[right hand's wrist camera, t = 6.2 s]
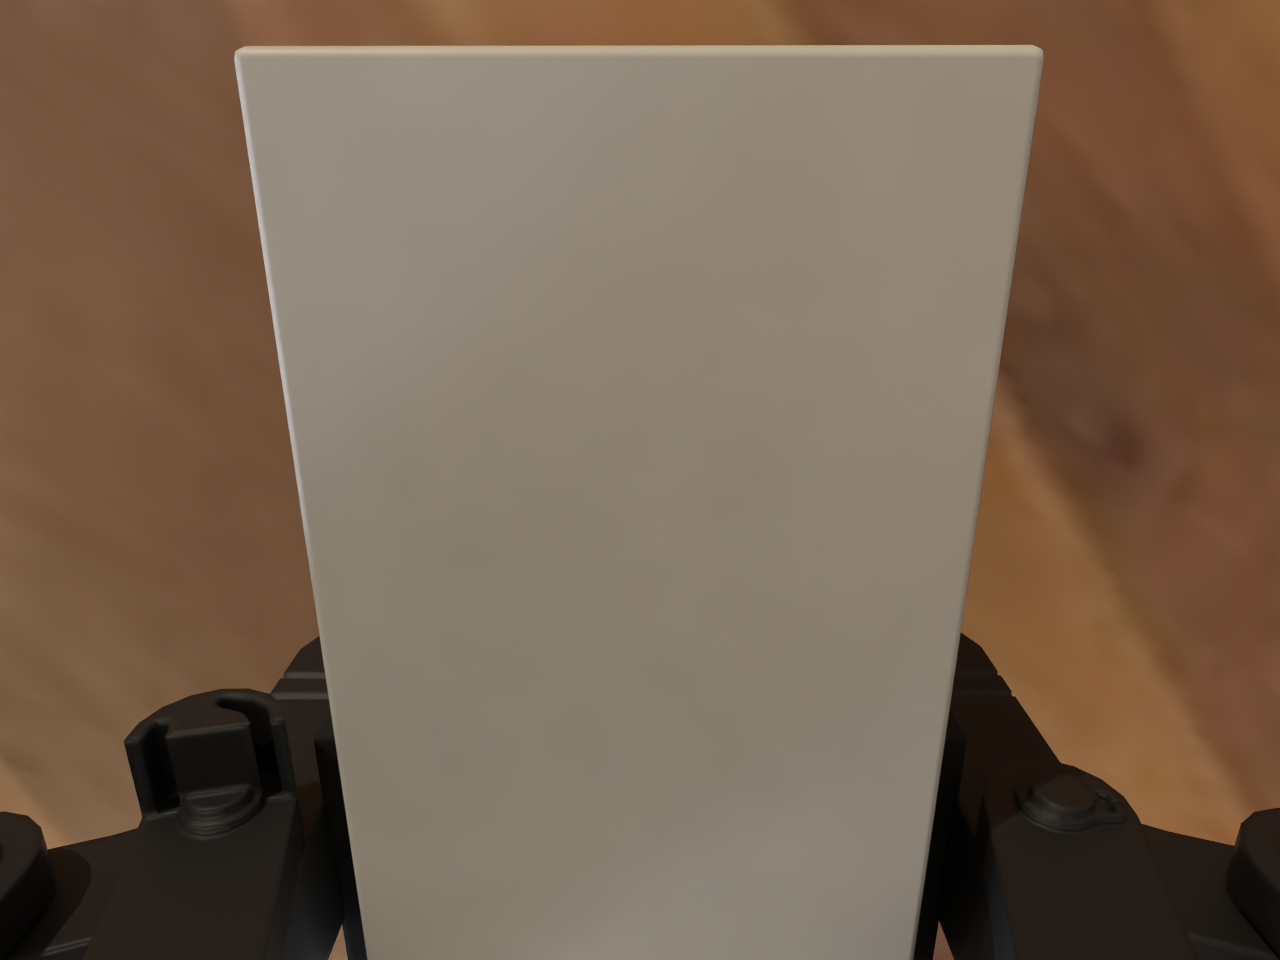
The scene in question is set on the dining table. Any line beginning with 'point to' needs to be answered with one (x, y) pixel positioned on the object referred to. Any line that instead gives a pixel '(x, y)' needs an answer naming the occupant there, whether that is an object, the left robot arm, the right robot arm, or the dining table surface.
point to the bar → (639, 472)
